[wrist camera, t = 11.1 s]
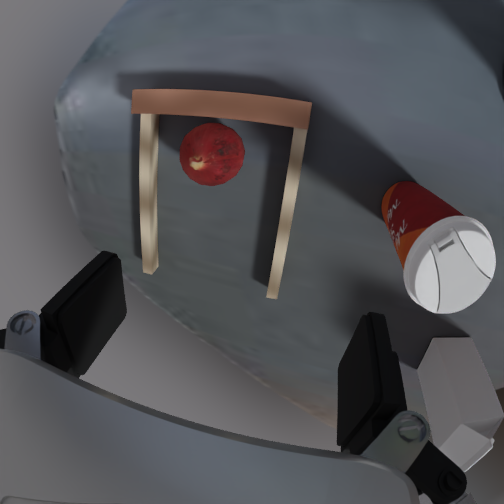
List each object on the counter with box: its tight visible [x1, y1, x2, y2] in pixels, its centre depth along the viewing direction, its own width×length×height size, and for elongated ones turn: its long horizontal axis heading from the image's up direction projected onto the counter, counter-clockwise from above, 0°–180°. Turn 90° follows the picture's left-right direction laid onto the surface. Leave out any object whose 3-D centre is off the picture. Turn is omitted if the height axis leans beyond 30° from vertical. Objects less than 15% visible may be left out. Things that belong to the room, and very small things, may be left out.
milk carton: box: [417, 337, 504, 472], centre depth 30 cm, size 7×7×19 cm
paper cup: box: [381, 181, 496, 314], centre depth 24 cm, size 8×8×14 cm
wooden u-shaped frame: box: [131, 89, 312, 299], centre depth 31 cm, size 21×16×4 cm
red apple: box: [180, 123, 245, 186], centre depth 27 cm, size 6×6×8 cm
